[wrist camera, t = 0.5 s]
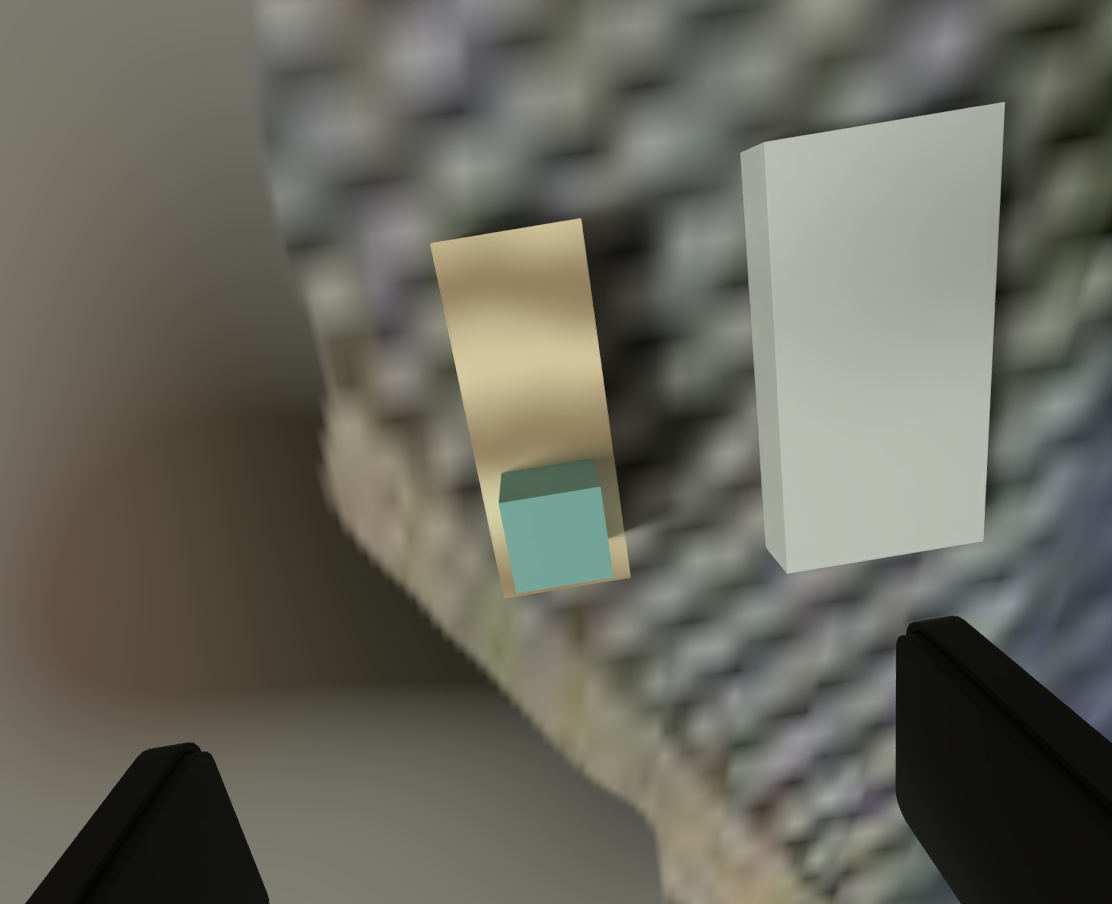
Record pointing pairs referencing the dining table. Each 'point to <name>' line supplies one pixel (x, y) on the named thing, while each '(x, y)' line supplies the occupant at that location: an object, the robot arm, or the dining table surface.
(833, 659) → the dining table surface
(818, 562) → the dock
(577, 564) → the teal cube
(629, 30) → the dining table surface
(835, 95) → the dining table surface
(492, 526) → the tan long block
